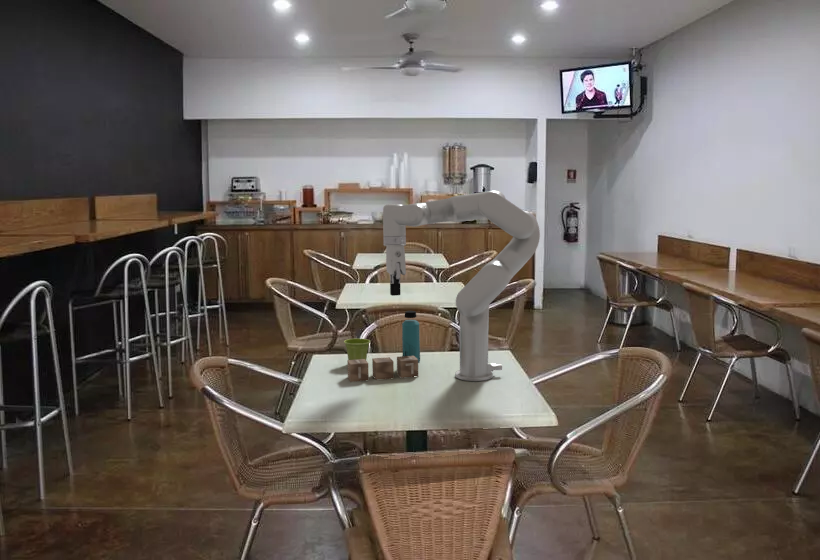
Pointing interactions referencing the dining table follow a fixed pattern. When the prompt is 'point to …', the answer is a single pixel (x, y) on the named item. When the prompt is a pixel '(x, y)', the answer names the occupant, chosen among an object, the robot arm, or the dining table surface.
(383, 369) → the plain block
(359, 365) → the block one
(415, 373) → the block seven
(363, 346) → the plant pot
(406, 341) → the beverage bottle
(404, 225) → the robot arm
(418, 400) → the dining table surface
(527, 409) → the dining table surface
